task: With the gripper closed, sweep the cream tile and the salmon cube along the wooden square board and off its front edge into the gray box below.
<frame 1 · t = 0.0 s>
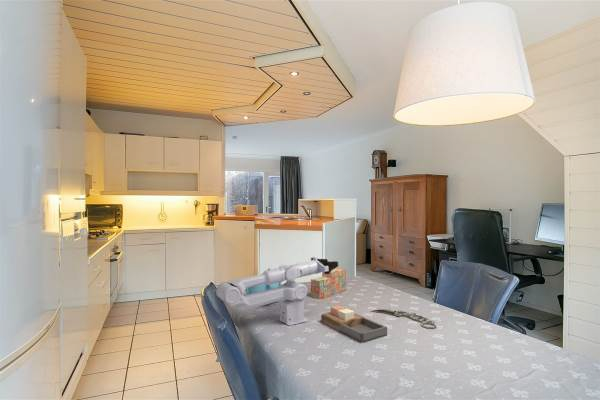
hand: (332, 262, 145), 22 cm above the table, tool horizontal, fingers open, 7 cm apart
decorative pot: (263, 302, 161), on the table
wooden square board: (342, 323, 131), on the table
gray box: (363, 333, 120), on the table
salmon cube: (338, 314, 133), point 3 cm above the table, touching wooden square board
cream tile: (346, 317, 129), point 3 cm above the table, touching wooden square board
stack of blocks: (328, 294, 174), on the table
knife: (405, 319, 137), on the table
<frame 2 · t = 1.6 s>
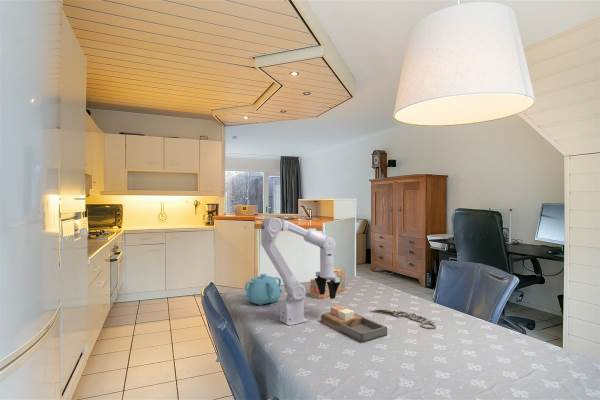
hand: (327, 296, 140), 8 cm above the table, tool pointing down, fingers open, 7 cm apart
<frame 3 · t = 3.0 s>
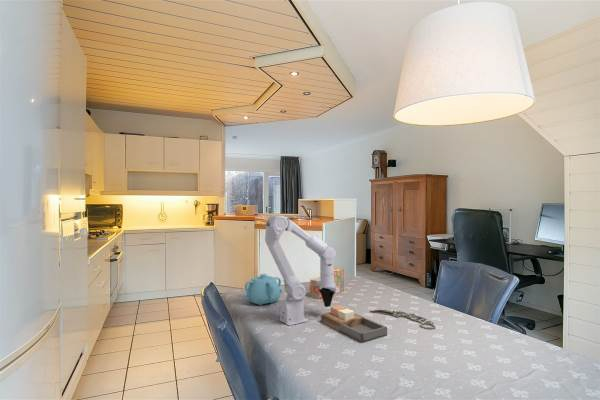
hand: (327, 306, 140), 4 cm above the table, tool pointing down, fingers closed
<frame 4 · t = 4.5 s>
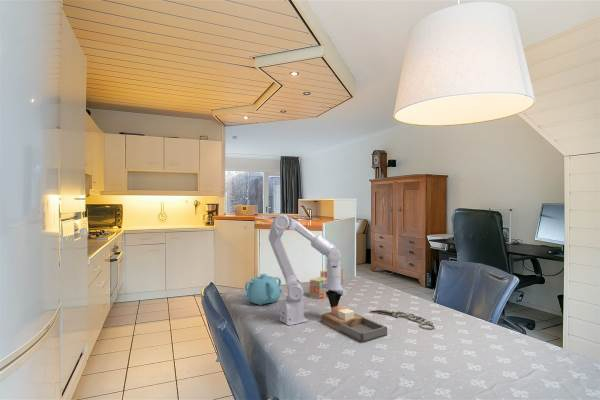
hand: (334, 309, 136), 4 cm above the table, tool pointing down, fingers closed
salmon cube: (339, 314, 133), point 3 cm above the table, touching gripper
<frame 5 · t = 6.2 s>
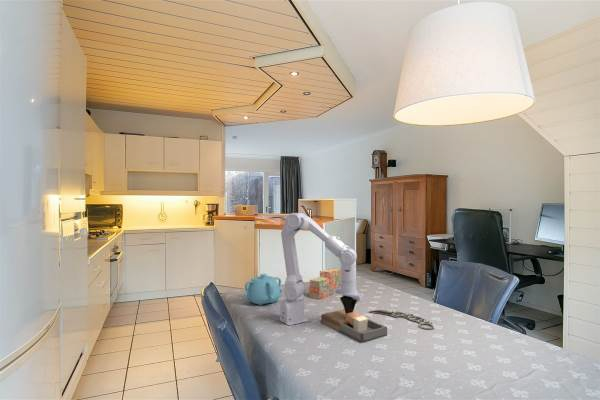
hand: (349, 315, 127), 4 cm above the table, tool pointing down, fingers closed
salmon cube: (353, 321, 125), point 3 cm above the table, tilted 13°, touching gripper, wooden square board
cream tile: (358, 322, 123), point 3 cm above the table, tilted 100°, touching gray box
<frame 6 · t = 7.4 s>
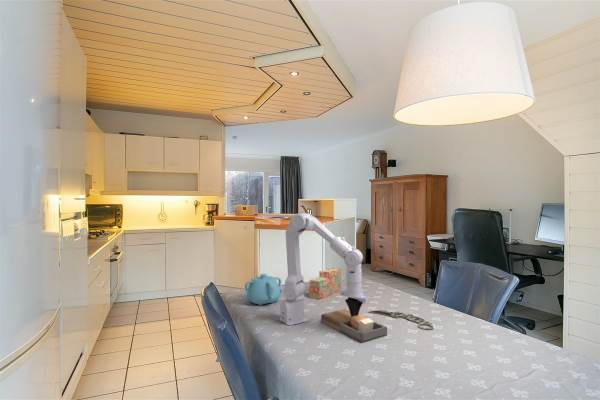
hand: (354, 318, 125), 4 cm above the table, tool pointing down, fingers closed
salmon cube: (358, 325, 122), point 2 cm above the table, tilted 13°, touching cream tile, gripper
cream tile: (363, 324, 120), point 3 cm above the table, tilted 103°, touching gray box, salmon cube
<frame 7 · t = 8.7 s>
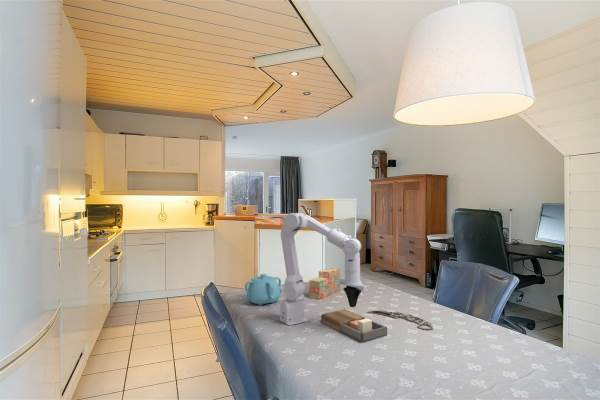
hand: (352, 306, 125), 8 cm above the table, tool pointing down, fingers closed
salmon cube: (358, 329, 123), point 1 cm above the table, touching gray box
cream tile: (362, 325, 121), point 3 cm above the table, tilted 90°, touching gray box
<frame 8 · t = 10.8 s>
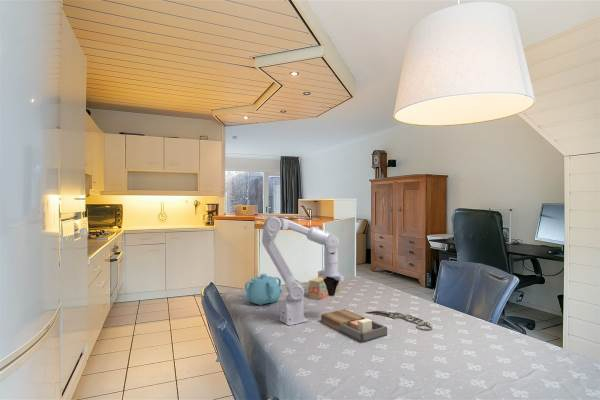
hand: (331, 295, 137), 9 cm above the table, tool pointing down, fingers closed
at the end: cream tile inside the target area on the gray box (0.7 cm from its centre), point 2.8 cm above the gray box's base; salmon cube inside the target area on the gray box (3.0 cm from its centre), point 0.6 cm above the gray box's base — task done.
